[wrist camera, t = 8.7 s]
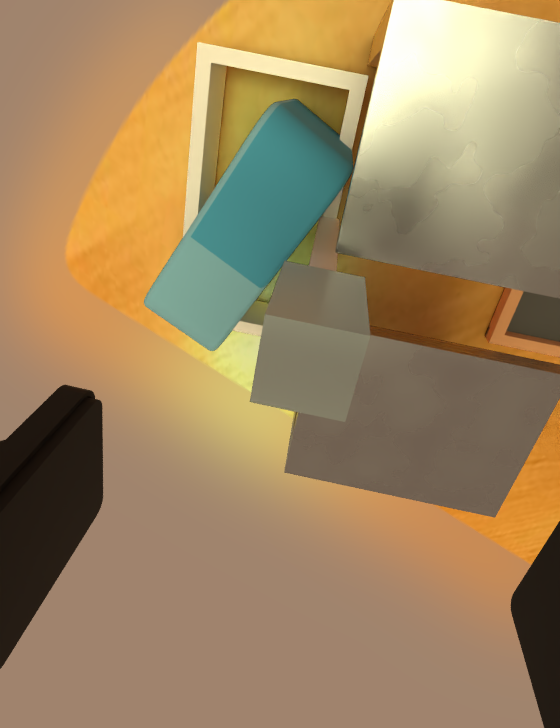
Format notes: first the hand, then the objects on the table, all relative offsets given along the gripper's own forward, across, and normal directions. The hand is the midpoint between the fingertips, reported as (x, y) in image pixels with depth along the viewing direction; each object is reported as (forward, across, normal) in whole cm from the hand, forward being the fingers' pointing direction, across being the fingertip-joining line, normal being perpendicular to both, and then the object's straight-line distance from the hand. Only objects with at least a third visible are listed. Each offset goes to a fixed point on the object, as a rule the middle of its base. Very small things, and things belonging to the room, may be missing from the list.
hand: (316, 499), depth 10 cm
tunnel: (+27, -5, 0) cm, 28 cm away
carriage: (+27, +5, 0) cm, 28 cm away
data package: (+27, +5, 0) cm, 28 cm away
